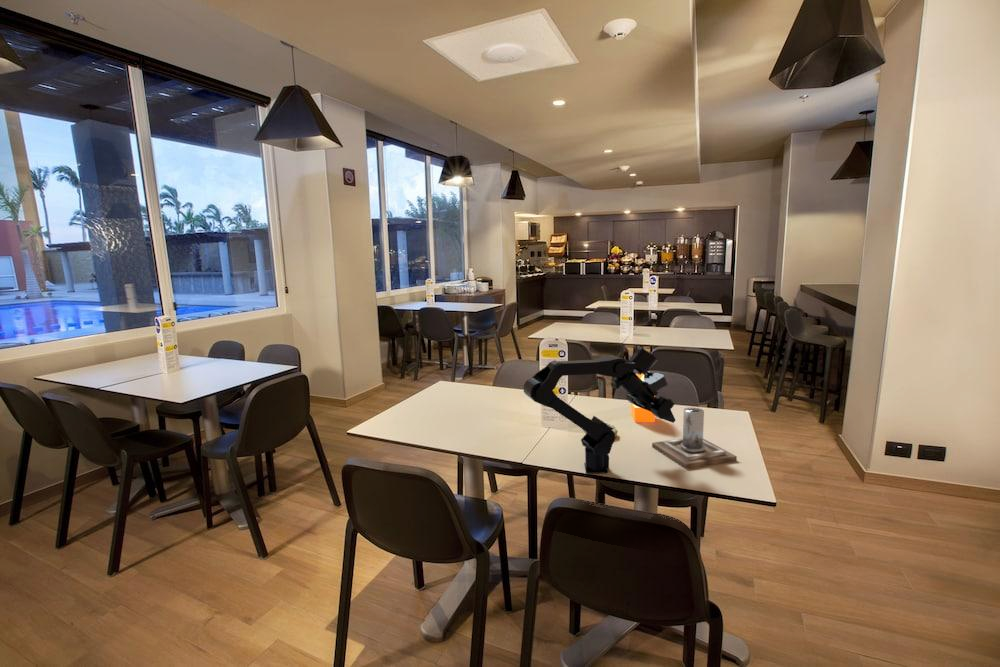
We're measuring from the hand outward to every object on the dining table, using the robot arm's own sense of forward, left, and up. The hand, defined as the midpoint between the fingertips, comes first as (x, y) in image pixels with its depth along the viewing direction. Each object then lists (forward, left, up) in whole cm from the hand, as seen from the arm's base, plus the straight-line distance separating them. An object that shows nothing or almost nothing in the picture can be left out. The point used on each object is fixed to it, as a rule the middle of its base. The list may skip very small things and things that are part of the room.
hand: (665, 416), depth 149 cm
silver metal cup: (+10, +4, -12) cm, 16 cm away
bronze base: (+10, +4, -14) cm, 17 cm away
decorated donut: (-17, +20, -14) cm, 30 cm away
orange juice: (+1, +38, -14) cm, 40 cm away
